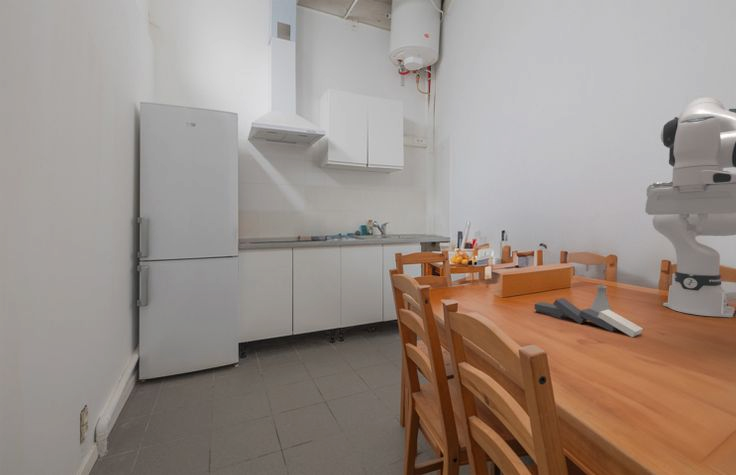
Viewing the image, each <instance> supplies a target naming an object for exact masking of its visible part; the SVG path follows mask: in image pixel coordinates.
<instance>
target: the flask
mask: <svg viewBox="0 0 736 475" xmlns="http://www.w3.org/2000/svg"><path fill="white" fill-rule="evenodd" d="M596 289H597V291H596V294H595V295H596V296H595V297H594V299H593V302H592V304H591V306H590V307H589V309H592V310H594V311H596V312H598V313H600V312H601V311H604V310H608V309H609V310H611V311H612V308H611V305H610V303H609V300H608V297H607V289H608V287H607V286H606V285H596ZM612 312H613V311H612Z"/></svg>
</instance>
